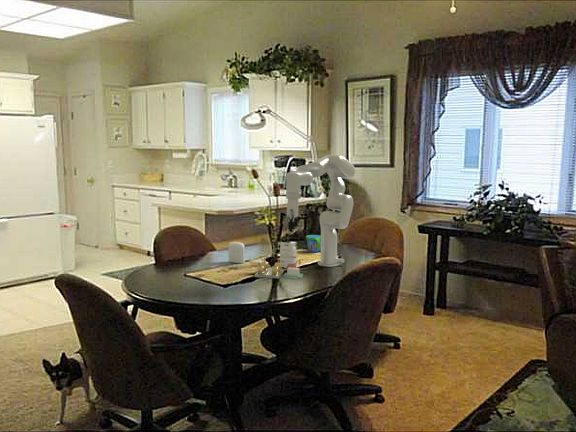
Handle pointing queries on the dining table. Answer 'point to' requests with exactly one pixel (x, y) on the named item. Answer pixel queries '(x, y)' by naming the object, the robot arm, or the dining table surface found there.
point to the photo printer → (236, 252)
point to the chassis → (269, 270)
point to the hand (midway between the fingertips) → (293, 227)
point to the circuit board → (293, 273)
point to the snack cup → (313, 243)
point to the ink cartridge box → (287, 255)
